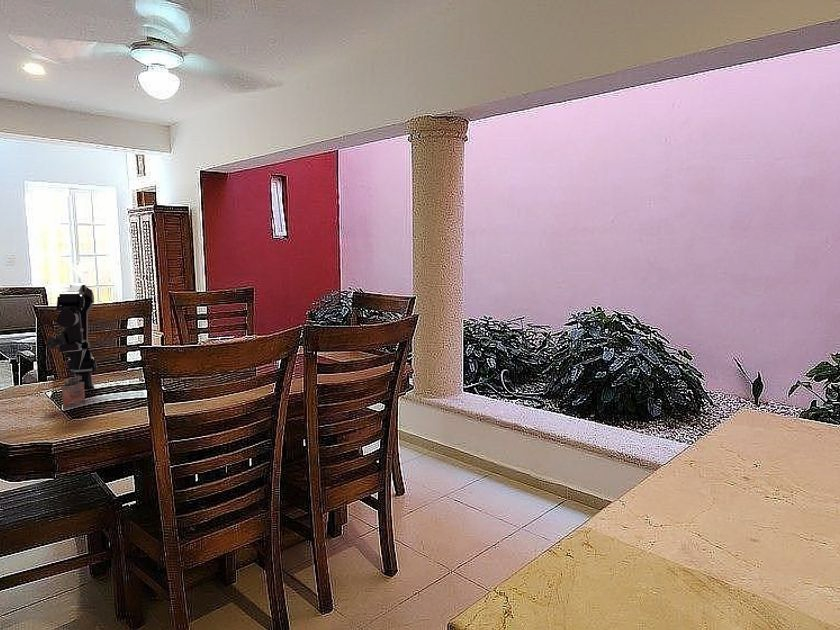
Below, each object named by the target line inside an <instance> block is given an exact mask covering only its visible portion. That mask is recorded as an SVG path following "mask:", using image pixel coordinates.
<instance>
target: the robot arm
mask: <svg viewBox="0 0 840 630" xmlns="http://www.w3.org/2000/svg"><path fill="white" fill-rule="evenodd" d="M93 304H95V296H94V292H93V290H92V289H91V288H89V287H87V285H86V284H85V283H83V282H82V283H81V282H78V283H77V282H76V283H74V282H73V283H70V285H69V288H68V290H66V291H62V292H60V293H59V295H57V301H56V312H59V313H58V315H57V317H56V322H57V324H58V325H59V326H60V327H62V329H63V330H61V331H60V332H61V334H60V335H58V336H53V335H50V336H47V337H46V341H45V346H46V347H48V349H49V350H50V351H51V350H53V349H54V350H55V349H57V348H58V349H57V350H58V353H64V354H66V355H67V356H69V358H68V362H67V364H68V371H69V375H74V377H76V376H82V379H81V380H78V381H79V382H84V390H87V389H89V390H90V389H95V385H94V383H93V376H92V373H97V372H98V366H97V360H95V357H94V356H93V354H92V352H91V351H90V349H89V348H91V342H89V314H90V313H91V311H92V310H93Z"/></svg>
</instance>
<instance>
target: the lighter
mask: <svg viewBox="0 0 840 630" xmlns="http://www.w3.org/2000/svg"><path fill="white" fill-rule="evenodd" d="M81 379H82V376H76V377H75V376H74V377H72V376H70V377H68V378H65V379H64V385H62V386H60V389H61V391H62V402H63V403H62V404H63V405H62V409H70V408H74V407H79V406H81V405H84V403H85V404H86V403H87V402H86V394H85V389H84V382H79V381H78V380H81Z"/></svg>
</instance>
